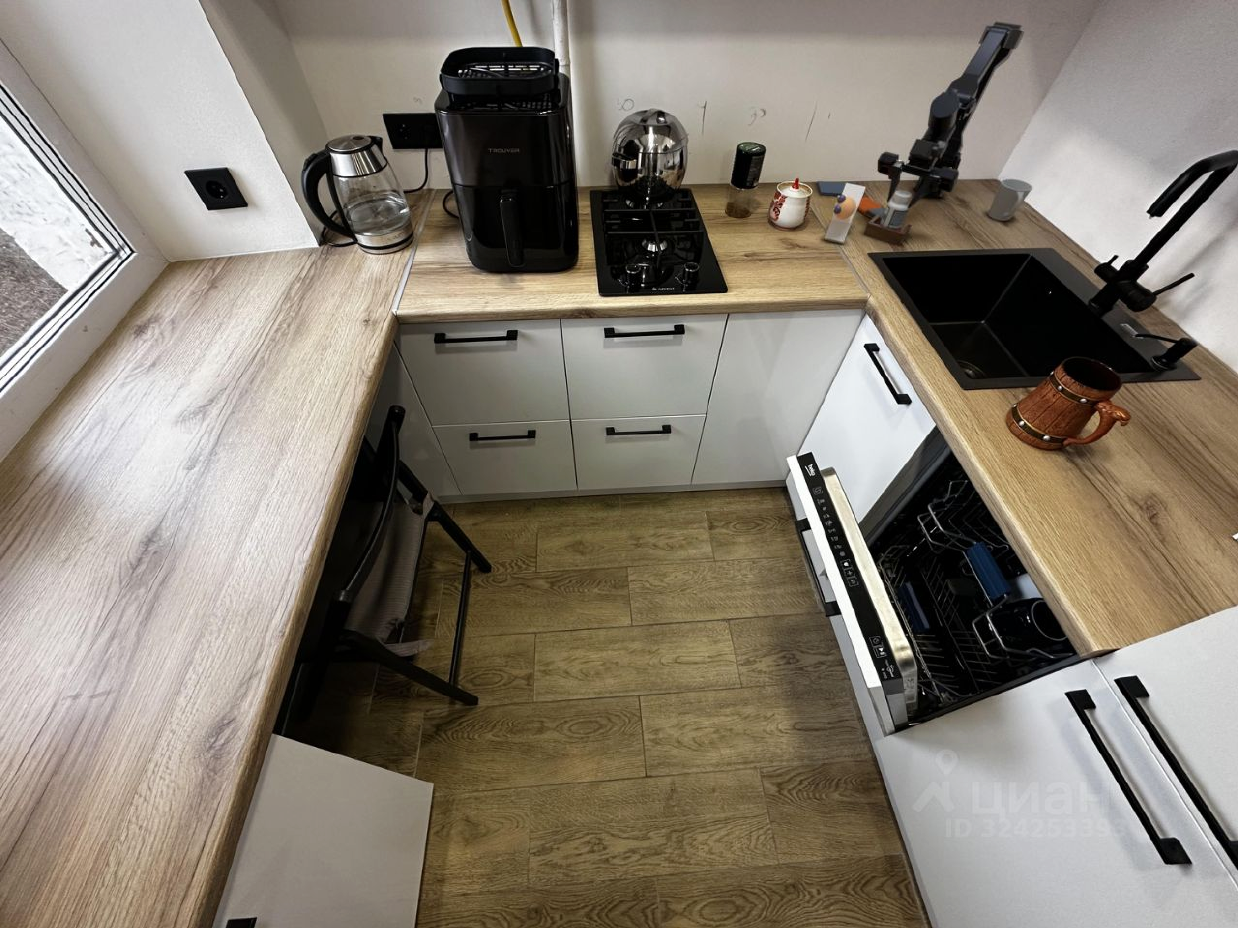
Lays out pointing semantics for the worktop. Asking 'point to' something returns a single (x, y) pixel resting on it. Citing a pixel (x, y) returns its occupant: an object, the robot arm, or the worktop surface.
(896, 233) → the brown wooden tray
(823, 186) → the seat mat
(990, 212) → the cup
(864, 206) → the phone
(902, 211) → the pill bottle
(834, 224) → the white dotted panel
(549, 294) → the worktop surface
